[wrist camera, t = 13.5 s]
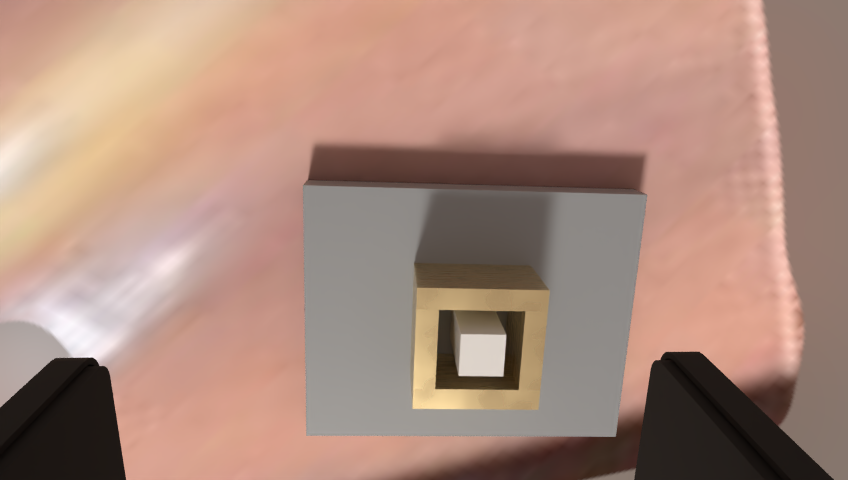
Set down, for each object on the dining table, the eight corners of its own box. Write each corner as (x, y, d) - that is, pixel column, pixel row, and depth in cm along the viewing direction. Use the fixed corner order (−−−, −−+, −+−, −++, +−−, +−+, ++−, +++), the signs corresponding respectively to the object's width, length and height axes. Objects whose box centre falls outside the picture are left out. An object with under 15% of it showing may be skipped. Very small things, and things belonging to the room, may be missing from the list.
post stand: (307, 179, 36) (288, 201, 29) (633, 189, 37) (688, 212, 30) (310, 418, 40) (294, 486, 33) (605, 420, 41) (647, 486, 34)
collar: (413, 262, 35) (417, 287, 31) (530, 265, 36) (549, 290, 31) (409, 370, 37) (412, 408, 33) (521, 372, 38) (538, 409, 33)
